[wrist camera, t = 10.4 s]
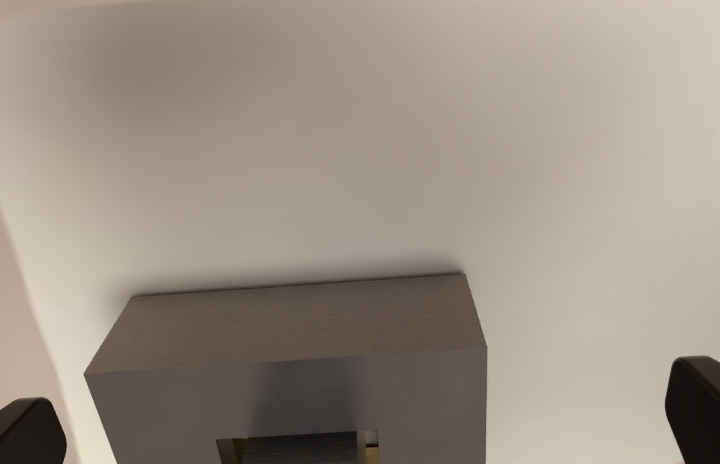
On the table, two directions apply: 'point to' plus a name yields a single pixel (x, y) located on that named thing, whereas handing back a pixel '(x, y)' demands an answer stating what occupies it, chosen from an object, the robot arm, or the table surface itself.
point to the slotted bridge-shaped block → (296, 371)
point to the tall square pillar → (307, 449)
